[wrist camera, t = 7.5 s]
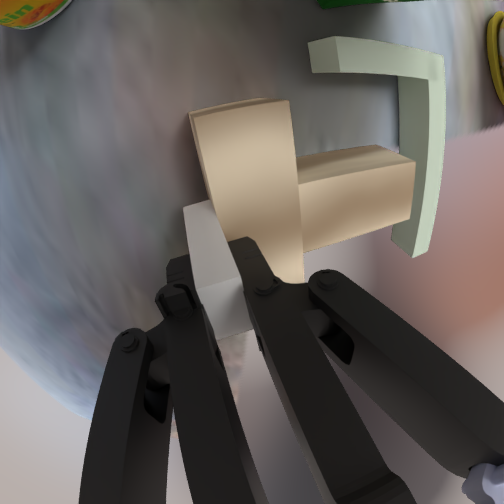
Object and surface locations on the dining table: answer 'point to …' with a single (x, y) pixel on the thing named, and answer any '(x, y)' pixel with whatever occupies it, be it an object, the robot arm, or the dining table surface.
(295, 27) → the dining table surface
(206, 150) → the t block
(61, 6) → the supplement bottle
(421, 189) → the corner stop
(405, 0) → the milk carton
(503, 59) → the flowerpot
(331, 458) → the robot arm
